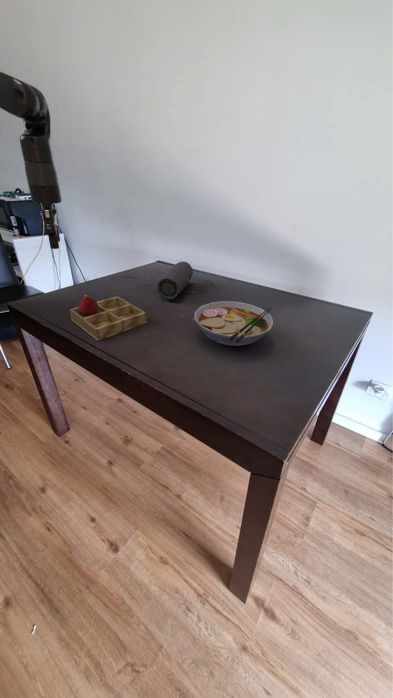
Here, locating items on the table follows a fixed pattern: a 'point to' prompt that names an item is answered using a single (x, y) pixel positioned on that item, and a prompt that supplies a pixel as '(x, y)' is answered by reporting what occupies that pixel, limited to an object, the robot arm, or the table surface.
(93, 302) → the onion
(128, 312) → the compartment tray
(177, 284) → the bluetooth speaker
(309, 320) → the table surface
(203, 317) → the ramen bowl
